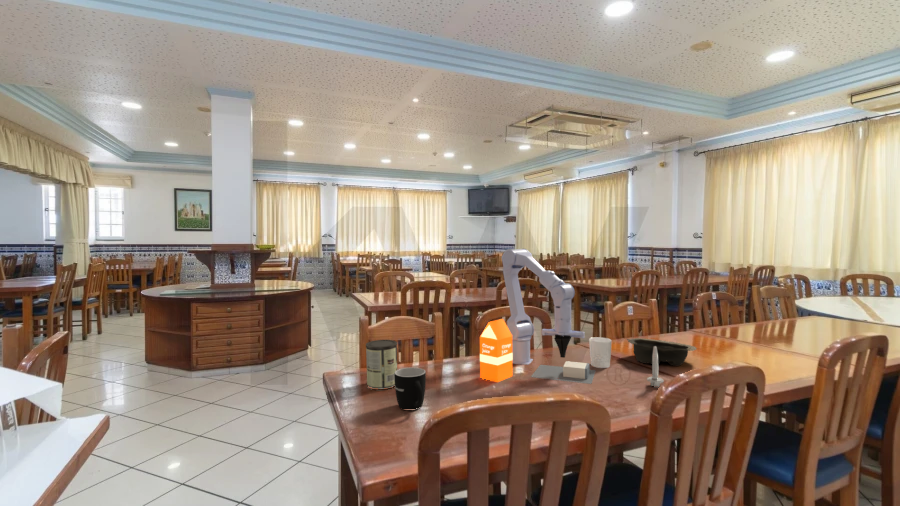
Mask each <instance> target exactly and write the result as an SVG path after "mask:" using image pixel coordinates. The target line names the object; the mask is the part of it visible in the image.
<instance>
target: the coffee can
mask: <svg viewBox="0 0 900 506" xmlns="http://www.w3.org/2000/svg"><path fill="white" fill-rule="evenodd" d="M365 352H366V354H365V357H366V386H367V385H368V386H369V387H372V388H378V389H384V388H390V387H393V386H395V378H394V373H395V371H397V370H398V342H397V341H396V340H393V339H377V340H371V341H368V342H366V343H365Z"/></svg>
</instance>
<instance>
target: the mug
mask: <svg viewBox="0 0 900 506" xmlns="http://www.w3.org/2000/svg"><path fill="white" fill-rule="evenodd" d="M426 376H427V374H426V370H425V369H424V368H420V367H415V366H414V367H412V366H411V367H402V368H399V369H397V371H395V373H394V378H395V387H394V390H395V397H396V402H397V405H398V408H400V409H401V408H402V409H416V408H419V407H421V408H422V407H423V404H424V401H425V393H426V384H427V383H426V382H427V379H426V378H427V377H426ZM402 409H401V410H402ZM419 409H420V408H419Z"/></svg>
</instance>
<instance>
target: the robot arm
mask: <svg viewBox="0 0 900 506" xmlns="http://www.w3.org/2000/svg"><path fill="white" fill-rule="evenodd" d="M501 261H502V274H503V280H504V284H505V289H506V295H507V300H508V306H509V311H510V316H509V318H508V319H507V321H506V325H507V327H508V329H509V330H510V332H511V334H512V353H513V360H512V362H513V364H516V365H525V366H529V365H530V364H531V363H532V362H533V360H534V359H533V358H531V339H532V336H533V335H534V332H535V325H534V324H533V323H532V320H531V319H532V318H531V317H530V316H529V315H528V314H527V313H526V312H525V311H526V310H525V306H524V302H523V301H524V300H523V295H522V290H521V286H520V280H519V275H518V274H519V273H520V271H521V270H522V269H523V268H525V267H526V268H527V269H529V270H530V271H531V272H532V273H533V274H535V275H536V276H537V277H538V279H539V280H538V281H539V283H540V284H541V285H542V286H543V287H544V288H546V290H547V291H548V292H550V296H551V298H552V300H553V305H554V328H542V329H541V336H553V337H554V338H553V339H554V342H555V343H556V346H557V347H558V348H557V349H558V351H559V355H560V358H566V354H567V348H568V345H569V343H570V341H571V340H572V338H579V339H585V331H580V330H572V300H573V299H574V297H575V294H576V291H575V288H574V286H573V285H572V284H571V283H566V282H564V280H563V279H560V278H559V277H558V276H557V275H556V272H554V270H549V269H548V270H546V268H544V267H543V266H542V265H541V264H540V263H539V262H538V261H537V260H536V259H535V258H534V257H533V253H532V252H531V251H529V250H528V249H527V248H518V249H517V248H514V249H512V248H507V249H505V251H504V252H503V254H502V256H501Z"/></svg>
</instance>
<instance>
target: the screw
mask: <svg viewBox="0 0 900 506" xmlns="http://www.w3.org/2000/svg"><path fill="white" fill-rule="evenodd" d="M652 355H653V356H652V357H653V361H652V362H653V363H652V365H651V369H652V371H651V373H652V376H648V377H647V378H646V380H647V382H649V383H650V387H652V386H654V387H653V388H659V387H660V385H661V384H663V383H665V381H664V379H663V378H662V377H659V364H658V353H657V347H656V346H654V349H653V354H652ZM655 386H656V387H655ZM657 386H658V387H657Z"/></svg>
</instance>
